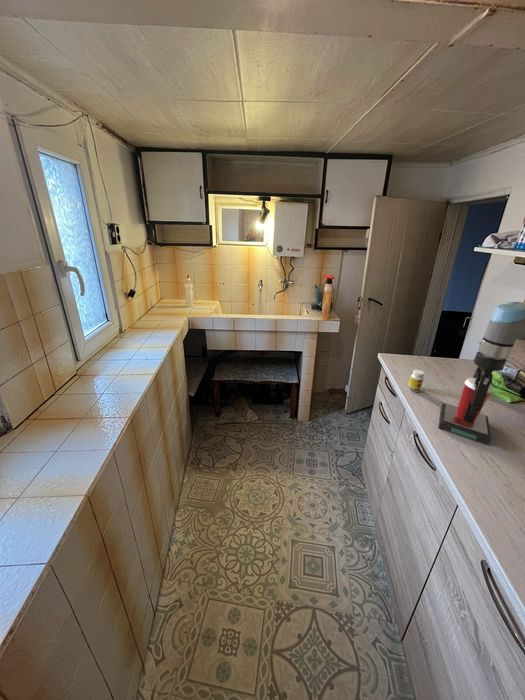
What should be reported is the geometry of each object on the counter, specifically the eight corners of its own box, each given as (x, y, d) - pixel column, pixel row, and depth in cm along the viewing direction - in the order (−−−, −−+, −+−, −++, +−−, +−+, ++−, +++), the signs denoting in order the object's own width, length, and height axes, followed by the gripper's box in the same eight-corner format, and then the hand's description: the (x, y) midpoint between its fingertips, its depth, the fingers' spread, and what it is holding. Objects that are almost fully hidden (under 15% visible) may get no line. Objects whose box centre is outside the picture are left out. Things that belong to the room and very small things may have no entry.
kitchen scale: (485, 422, 100) (488, 414, 99) (488, 445, 89) (492, 437, 88) (440, 408, 107) (443, 400, 106) (438, 428, 96) (441, 420, 95)
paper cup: (476, 427, 92) (493, 391, 86) (450, 417, 97) (463, 382, 91) (480, 417, 97) (495, 382, 91) (455, 407, 102) (468, 374, 96)
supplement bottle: (416, 393, 116) (421, 375, 112) (405, 388, 119) (410, 371, 116) (421, 390, 118) (427, 372, 115) (411, 385, 122) (416, 368, 118)
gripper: (476, 340, 97) (455, 395, 107) (479, 364, 80) (453, 426, 89) (503, 346, 94) (478, 401, 103) (512, 372, 76) (482, 436, 86)
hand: (467, 413), depth 96 cm, fingers open, 10 cm apart
